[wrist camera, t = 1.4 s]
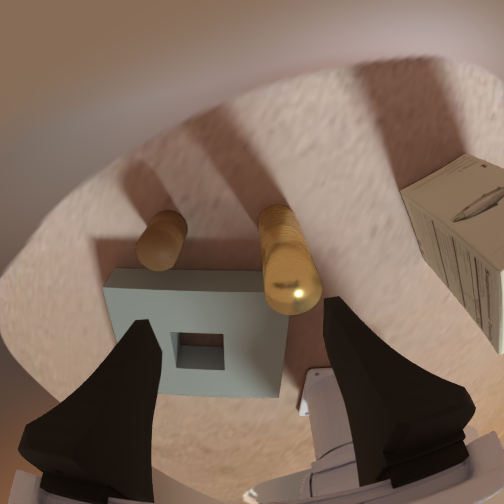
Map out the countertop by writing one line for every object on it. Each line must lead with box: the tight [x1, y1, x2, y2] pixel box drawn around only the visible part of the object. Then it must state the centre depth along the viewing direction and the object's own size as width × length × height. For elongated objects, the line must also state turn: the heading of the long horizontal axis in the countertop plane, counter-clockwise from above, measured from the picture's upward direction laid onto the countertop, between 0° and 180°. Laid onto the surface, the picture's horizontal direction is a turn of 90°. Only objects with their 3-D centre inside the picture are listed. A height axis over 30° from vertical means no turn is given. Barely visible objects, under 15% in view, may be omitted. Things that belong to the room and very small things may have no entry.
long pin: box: [258, 205, 322, 315], centre depth 20 cm, size 3×3×9 cm
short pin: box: [136, 210, 188, 271], centre depth 22 cm, size 3×3×4 cm
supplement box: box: [400, 153, 504, 355], centre depth 17 cm, size 7×7×13 cm
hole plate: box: [102, 268, 289, 398], centre depth 27 cm, size 14×12×3 cm
